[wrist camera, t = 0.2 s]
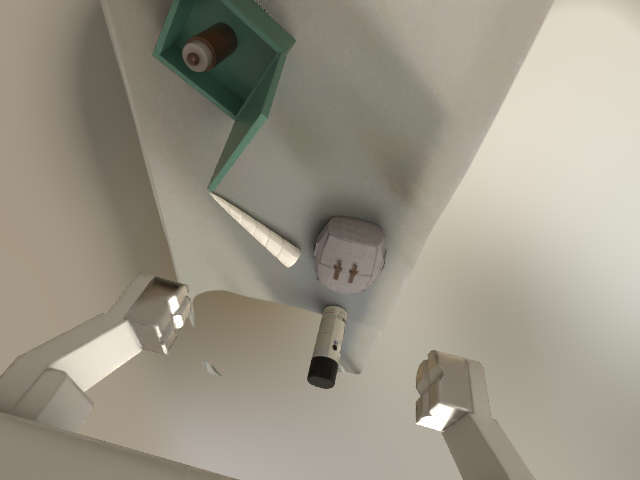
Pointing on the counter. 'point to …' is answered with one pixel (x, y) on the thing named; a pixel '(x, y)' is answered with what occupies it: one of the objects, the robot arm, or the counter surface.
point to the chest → (237, 69)
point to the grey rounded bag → (349, 254)
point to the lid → (248, 121)
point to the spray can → (328, 347)
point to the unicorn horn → (263, 234)
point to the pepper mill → (210, 47)
